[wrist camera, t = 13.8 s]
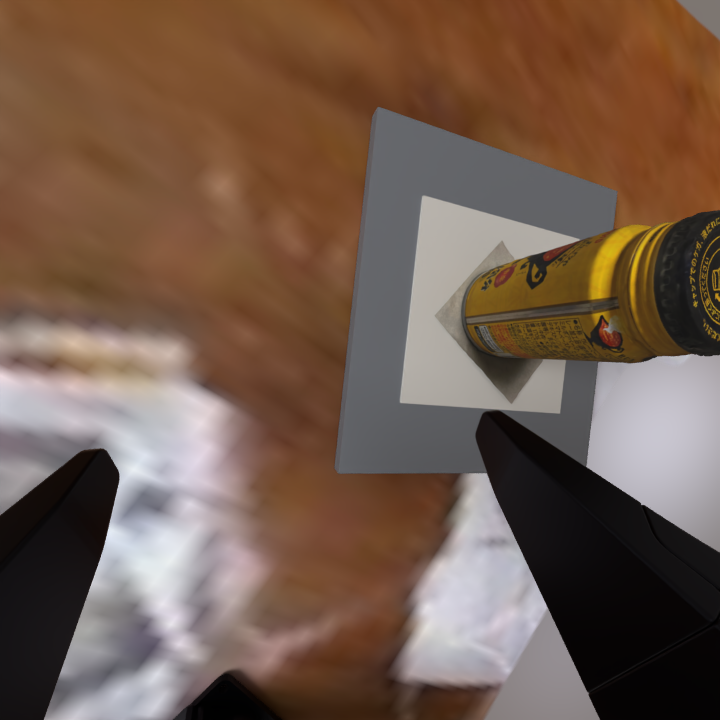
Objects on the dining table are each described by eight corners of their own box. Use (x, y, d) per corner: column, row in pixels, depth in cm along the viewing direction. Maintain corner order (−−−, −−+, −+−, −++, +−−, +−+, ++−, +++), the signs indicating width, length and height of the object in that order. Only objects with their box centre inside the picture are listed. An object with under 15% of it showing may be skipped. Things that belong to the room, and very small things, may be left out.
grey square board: (574, 468, 28) (587, 473, 27) (334, 467, 22) (339, 474, 20) (604, 196, 28) (620, 190, 27) (372, 117, 21) (379, 104, 20)
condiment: (499, 240, 23) (740, 141, 12) (565, 330, 25) (823, 318, 14) (432, 315, 22) (630, 285, 11) (507, 403, 24) (740, 456, 13)
